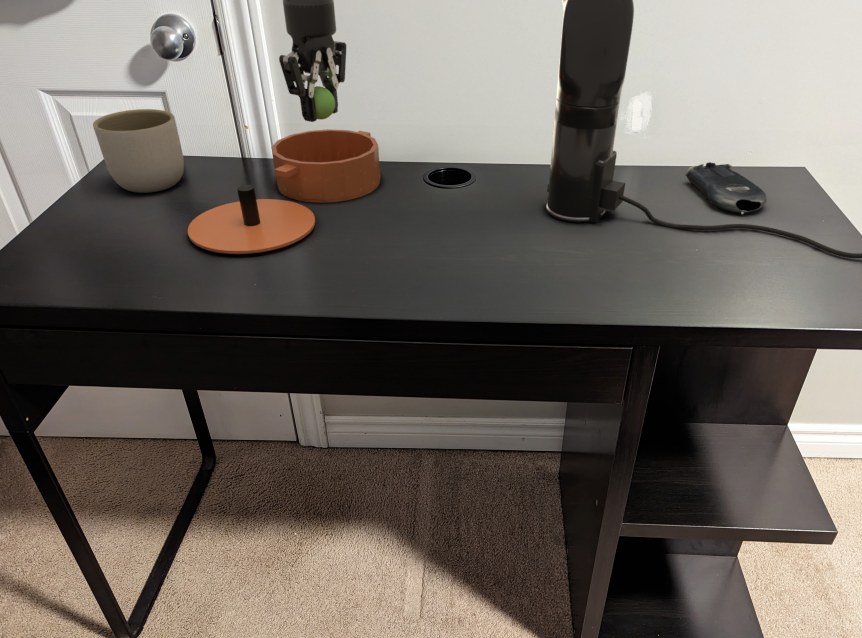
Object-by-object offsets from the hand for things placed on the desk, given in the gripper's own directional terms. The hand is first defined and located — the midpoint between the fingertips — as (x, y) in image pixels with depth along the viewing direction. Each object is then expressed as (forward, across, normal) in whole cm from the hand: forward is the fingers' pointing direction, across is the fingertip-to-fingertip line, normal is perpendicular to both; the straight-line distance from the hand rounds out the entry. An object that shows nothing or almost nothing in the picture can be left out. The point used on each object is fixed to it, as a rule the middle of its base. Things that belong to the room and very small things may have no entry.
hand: (321, 116), depth 112 cm
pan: (+11, 0, 0) cm, 11 cm away
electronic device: (+11, +28, -62) cm, 69 cm away
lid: (+11, -21, -2) cm, 24 cm away
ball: (-2, 0, 0) cm, 2 cm away
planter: (+12, -16, +26) cm, 33 cm away
